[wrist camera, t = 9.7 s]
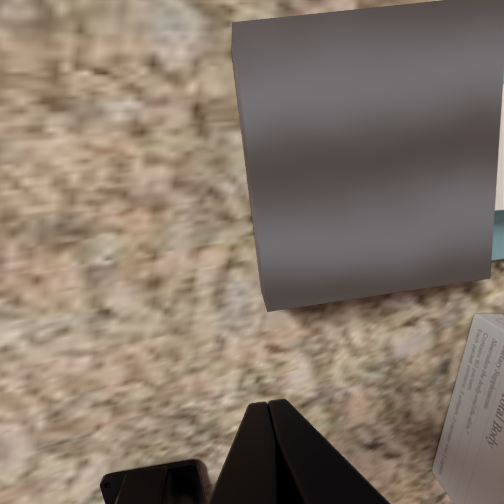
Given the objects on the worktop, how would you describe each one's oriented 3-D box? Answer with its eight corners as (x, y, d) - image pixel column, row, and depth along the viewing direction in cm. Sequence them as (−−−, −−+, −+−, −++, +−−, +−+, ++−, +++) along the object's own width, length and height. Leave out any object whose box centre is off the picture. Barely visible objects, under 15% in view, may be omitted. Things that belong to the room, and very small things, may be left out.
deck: (450, 263, 19) (490, 278, 16) (261, 291, 18) (267, 311, 16) (457, 27, 16) (508, -7, 13) (231, 52, 15) (232, 22, 13)
